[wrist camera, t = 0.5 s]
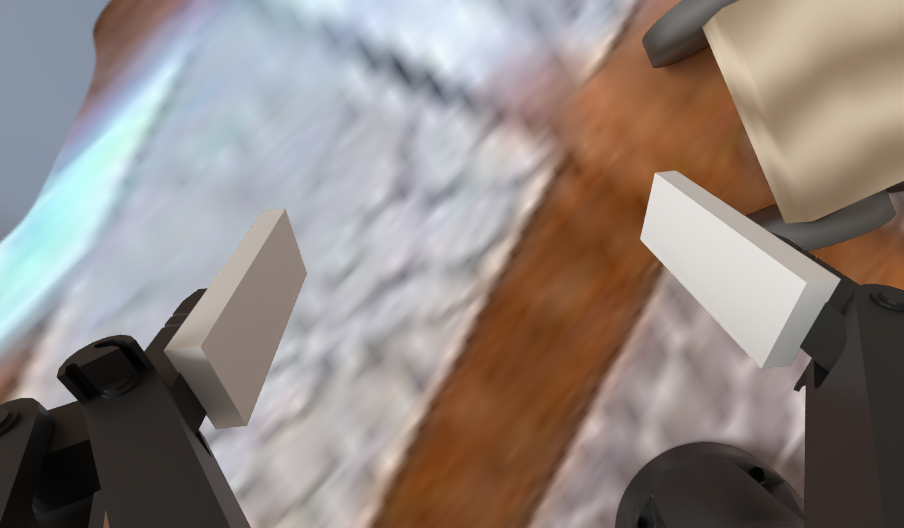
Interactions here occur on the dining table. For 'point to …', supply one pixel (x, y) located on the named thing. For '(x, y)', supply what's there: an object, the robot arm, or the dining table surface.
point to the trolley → (807, 103)
